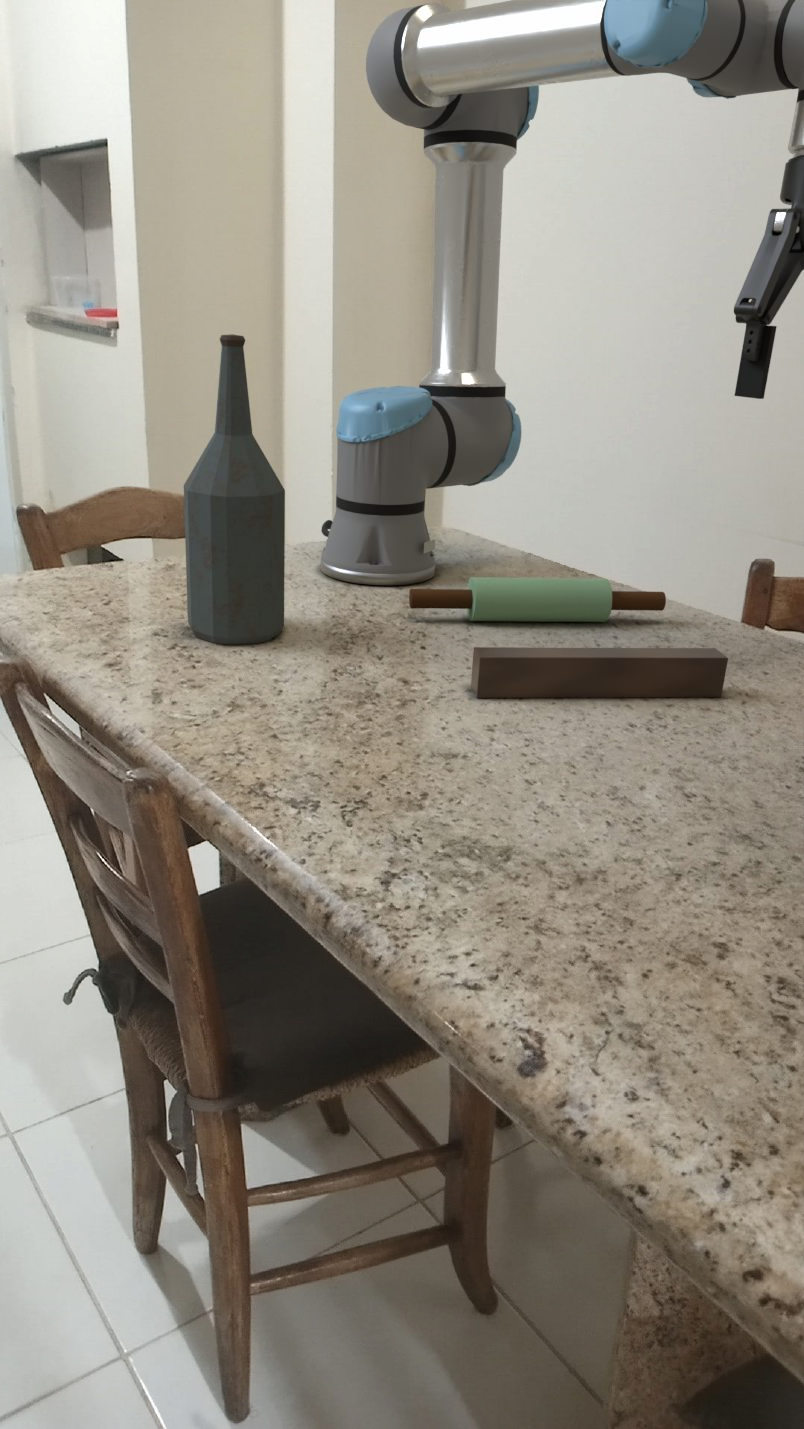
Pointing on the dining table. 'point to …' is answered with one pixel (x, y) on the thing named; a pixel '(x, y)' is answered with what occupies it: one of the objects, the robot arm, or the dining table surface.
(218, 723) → the dining table surface
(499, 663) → the bar
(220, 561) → the bottle
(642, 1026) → the dining table surface
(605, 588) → the rolling pin
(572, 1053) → the dining table surface
